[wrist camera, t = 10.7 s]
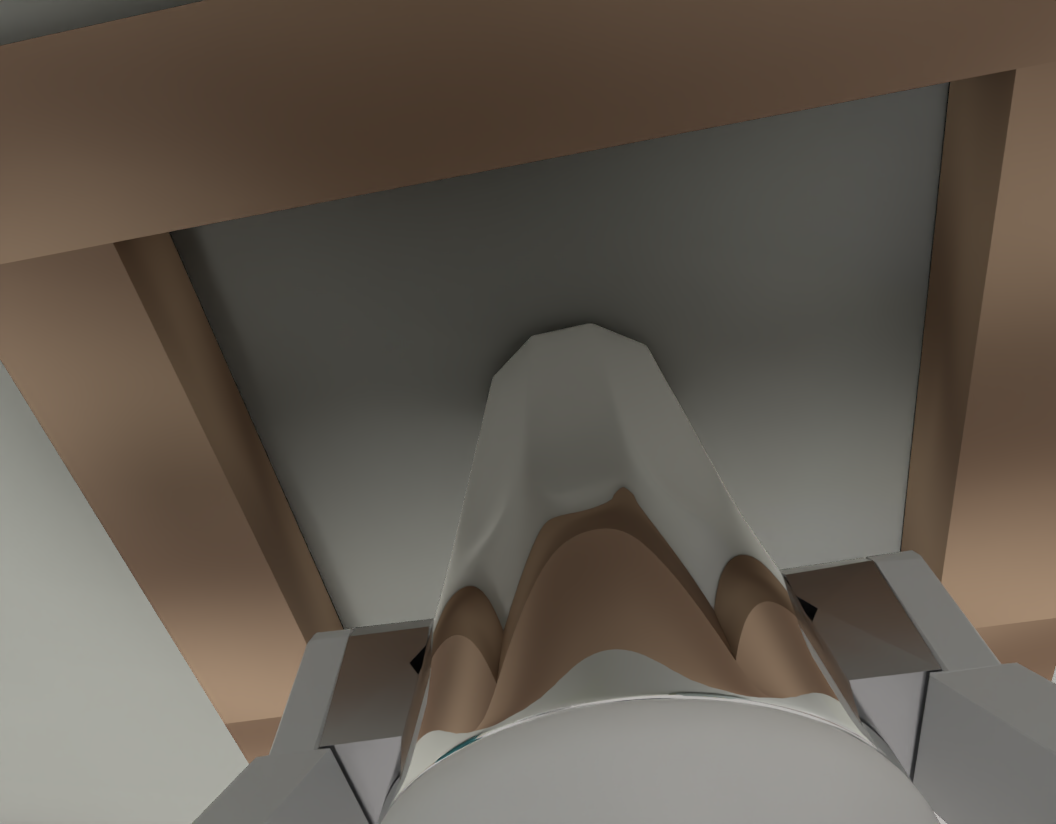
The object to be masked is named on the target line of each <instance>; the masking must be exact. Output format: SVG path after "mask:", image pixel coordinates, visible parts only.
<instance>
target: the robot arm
mask: <svg viewBox="0 0 1056 824" xmlns="http://www.w3.org/2000/svg"><path fill="white" fill-rule="evenodd" d="M780 572H781V573H782V575H783V576H784V578H785V579H786V581H787V583H788V584H789V586H790V587H791V589H792V590H793V592H794V593H795V595H796V597H797V598H798V600H799V601H800V603H801V605H802V606H803V608H804V609H805V611H806V612H807V614H808V616H809V617H810V619H811V620H812V622H813V624H814V625H815V627H816V628H817V630H818V632H819V633H820V635H821V636H822V638H823V639H824V641H825V643H826V644H827V646H828V647H829V649H830V651H831V652H832V654H833V655H834V657H835V659H836V660H837V662H838V663H839V665H840V667H841V668H842V670H843V671H844V673H845V675H846V676H847V678H848V679H849V681H850V683H851V684H852V686H853V687H854V689H855V691H856V692H857V694H858V695H859V697H860V699H861V700H862V702H863V703H864V705H865V707H866V708H867V710H868V711H869V713H870V715H871V716H872V718H873V719H874V721H875V723H876V724H877V726H878V727H879V729H880V731H881V732H882V734H883V735H884V737H885V739H886V740H887V742H888V743H889V745H890V747H891V748H892V750H893V752H894V753H895V755H896V756H897V758H898V760H899V761H900V763H901V764H902V766H903V768H904V769H905V771H906V773H907V774H908V776H909V778H910V780H911V781H912V783H913V785H914V786H915V787H916V788H917V789H918V791H919V792H920V793H921V794H922V796H923V797H924V798H925V800H926V801H927V803H928V804H929V805H930V807H931V809H932V810H933V811H934V812H935V813H936V814H937V815H938V816H939V817H941V818H942V819H943V820H944V821H945V822H946V823H947V824H1056V684H1055V683H1053V682H1051V681H1049V680H1047V679H1046V678H1044V677H1042V676H1040V675H1038V674H1037V673H1035V672H1033V671H1031V670H1029V669H1027V668H1026V667H1024V666H1022V665H1020V664H1018V663H1007V664H1001V663H1000V662H999V660H998V659H997V657H996V656H995V655H994V653H993V652H992V651H991V649H990V648H989V647H988V645H987V644H986V643H985V641H984V640H983V639H982V637H981V636H980V635H979V633H978V632H977V630H976V629H975V628H974V626H973V625H972V624H971V622H970V621H969V620H968V618H967V617H966V616H965V614H964V613H963V612H962V610H961V609H960V608H959V606H958V605H957V603H956V602H955V601H954V599H953V598H952V597H951V595H950V594H949V593H948V591H947V590H946V589H945V587H944V586H943V585H942V583H941V582H940V581H939V579H938V578H937V577H936V575H935V574H934V572H933V571H932V570H931V568H930V567H929V566H928V564H927V563H926V562H925V560H924V559H923V558H922V556H921V555H919V554H918V553H916V552H914V551H913V550H909V551H903V552H896V553H889V554H882V555H876V556H869V557H866V558H856V559H849V560H843V561H836V562H829V563H822V564H816V565H809V566H802V567H796V568H789V569H782V570H780ZM433 621H434V619H426V620H417V621H408V622H399V623H391V624H382V625H373V626H364V627H356V628H354V629H345V630H336V631H327V632H318V633H316V634H315V635H314V636H313V637H312V638H311V639H310V641H309V642H308V643H307V645H306V648H305V651H304V654H303V657H302V660H301V663H300V666H299V669H298V671H297V674H296V677H295V680H294V683H293V686H292V689H291V692H290V695H289V698H288V701H287V704H286V706H285V709H284V712H283V715H282V718H281V721H280V724H279V727H278V730H277V733H276V736H275V739H274V741H273V744H272V747H271V750H270V753H269V755H267V756H260V757H256V758H255V759H254V760H253V761H252V762H251V763H250V764H249V765H248V766H247V767H246V768H245V769H244V770H243V771H242V772H241V773H240V774H239V775H238V776H237V777H236V778H235V780H234V781H233V782H232V783H231V784H230V785H229V786H228V787H227V788H226V789H225V790H224V791H223V792H222V793H221V794H220V795H219V796H218V797H217V798H216V799H215V800H214V801H213V802H212V803H211V804H210V805H209V806H208V807H207V808H206V809H205V810H204V811H203V813H202V814H201V815H200V816H199V817H198V818H197V819H196V820H195V821H194V822H193V823H192V824H378V820H379V816H380V813H381V809H382V805H383V802H384V798H385V794H386V791H387V787H388V784H389V780H390V776H391V773H392V769H393V765H394V762H395V758H396V755H397V751H398V747H399V744H400V740H401V736H402V733H403V729H404V726H405V722H406V718H407V715H408V711H409V708H410V704H411V700H412V697H413V693H414V689H415V686H416V682H417V679H418V675H419V671H420V668H421V664H422V661H423V657H424V653H425V650H426V646H427V643H428V639H429V635H430V632H431V628H432V625H433Z"/></svg>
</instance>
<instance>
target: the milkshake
mask: <svg viewBox="0 0 1056 824" xmlns="http://www.w3.org/2000/svg"><path fill="white" fill-rule="evenodd" d="M378 824H940V823H939V821H938V819H937V817H936V815H935V814H934V812H933V810H932V809H931V807H930V805H929V804H928V803H927V801H926V800H925V798H924V797H923V796H922V794H921V793H920V792H919V791H918V789H917V788H916V787H915V786H914V785H913V783H912V781H911V780H910V778H909V776H908V774H907V773H906V771H905V769H904V768H903V766H902V764H901V763H900V761H899V760H898V758H897V756H896V755H895V753H894V752H893V750H892V748H891V747H890V745H889V743H888V742H887V740H886V739H885V737H884V735H883V734H882V732H881V731H880V729H879V727H878V726H877V724H876V723H875V721H874V719H873V718H872V716H871V715H870V713H869V711H868V710H867V708H866V707H865V705H864V703H863V702H862V700H861V699H860V697H859V695H858V694H857V692H856V691H855V689H854V687H853V686H852V684H851V683H850V681H849V679H848V678H847V676H846V675H845V673H844V671H843V670H842V668H841V667H840V665H839V663H838V662H837V660H836V659H835V657H834V655H833V654H832V652H831V651H830V649H829V647H828V646H827V644H826V643H825V641H824V639H823V638H822V636H821V635H820V633H819V632H818V630H817V628H816V627H815V625H814V624H813V622H812V620H811V619H810V617H809V616H808V614H807V612H806V611H805V609H804V608H803V606H802V605H801V603H800V601H799V600H798V598H797V597H796V595H795V593H794V592H793V590H792V589H791V587H790V586H789V584H788V583H787V581H786V579H785V578H784V576H783V575H782V573H781V572H780V570H779V569H778V567H777V566H776V564H775V563H774V562H773V560H772V559H771V557H770V556H769V554H768V553H767V551H766V550H765V549H764V547H763V546H762V544H761V543H760V541H759V540H758V538H757V537H756V535H755V534H754V532H753V531H752V529H751V528H750V526H749V525H748V523H747V522H746V520H745V519H744V517H743V516H742V514H741V512H740V511H739V509H738V508H737V506H736V504H735V503H734V501H733V499H732V497H731V496H730V494H729V492H728V491H727V489H726V487H725V485H724V484H723V482H722V480H721V478H720V476H719V475H718V473H717V471H716V469H715V467H714V465H713V464H712V462H711V460H710V458H709V456H708V455H707V453H706V451H705V449H704V447H703V446H702V444H701V442H700V440H699V438H698V437H697V435H696V433H695V431H694V429H693V428H692V426H691V424H690V422H689V420H688V418H687V417H686V415H685V413H684V411H683V409H682V408H681V406H680V404H679V402H678V400H677V399H676V397H675V395H674V393H673V392H672V390H671V388H670V386H669V385H668V383H667V381H666V379H665V378H664V376H663V374H662V372H661V370H660V369H659V367H658V365H657V363H656V361H655V360H654V358H653V356H652V354H651V352H650V351H649V349H648V347H647V346H646V345H645V344H643V343H640V342H638V341H635V340H633V339H630V338H627V337H625V336H622V335H620V334H617V333H615V332H613V331H610V330H608V329H605V328H603V327H600V326H598V325H595V324H593V323H588V324H584V325H579V326H575V327H570V328H565V329H561V330H556V331H551V332H546V333H542V334H537V335H532V336H531V337H530V338H529V339H528V340H527V341H526V342H525V344H524V345H523V346H522V347H521V348H520V349H519V350H518V351H517V352H516V353H515V354H514V355H513V356H512V357H511V358H510V359H509V360H508V361H507V363H506V364H505V365H504V366H503V367H502V368H501V369H500V370H499V371H498V372H497V373H496V374H495V375H494V376H493V378H492V382H491V386H490V390H489V394H488V399H487V403H486V407H485V412H484V416H483V420H482V424H481V429H480V433H479V437H478V442H477V446H476V450H475V455H474V459H473V463H472V468H471V472H470V476H469V480H468V485H467V489H466V493H465V498H464V502H463V506H462V511H461V515H460V519H459V524H458V528H457V532H456V536H455V541H454V545H453V549H452V553H451V557H450V562H449V566H448V570H447V573H446V577H445V581H444V585H443V589H442V592H441V596H440V600H439V603H438V607H437V610H436V614H435V617H434V621H433V625H432V628H431V632H430V635H429V639H428V643H427V646H426V650H425V653H424V657H423V661H422V664H421V668H420V671H419V675H418V679H417V682H416V686H415V689H414V693H413V697H412V700H411V704H410V708H409V711H408V715H407V718H406V722H405V726H404V729H403V733H402V736H401V740H400V744H399V747H398V751H397V755H396V758H395V762H394V765H393V769H392V773H391V776H390V780H389V784H388V787H387V791H386V794H385V798H384V802H383V805H382V809H381V813H380V816H379V820H378Z"/></svg>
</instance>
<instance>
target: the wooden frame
mask: <svg viewBox="0 0 1056 824" xmlns="http://www.w3.org/2000/svg"><path fill="white" fill-rule="evenodd" d="M946 82H950V89H949V98H948V108H947V117H946V127H945V136H944V146H943V155H942V165H941V174H940V184H939V193H938V203H937V212H936V222H935V231H934V241H933V251H932V260H931V270H930V279H929V289H928V298H927V308H926V317H925V327H924V336H923V346H922V355H921V365H920V374H919V384H918V393H917V403H916V412H915V422H914V431H913V441H912V450H911V460H910V469H909V479H908V488H907V498H906V507H905V517H904V526H903V536H902V545H901V552H903V551H909V550H913V551H914V552H916V553H918V554H919V555H921V556H922V558H923V559H924V560H925V562H926V563H927V564H928V566H929V567H930V568H931V570H932V571H933V572H934V574H935V575H936V577H937V578H938V579H939V581H940V582H941V583H942V585H943V586H944V587H945V589H946V590H947V591H948V593H949V594H950V595H951V597H952V598H953V599H954V601H955V602H956V603H957V605H958V606H959V608H960V609H961V610H962V612H963V613H964V614H965V616H966V617H967V618H968V620H969V621H970V622H971V624H972V625H973V626H974V628H975V629H976V630H977V632H978V633H979V635H980V636H981V637H982V639H983V640H984V641H985V643H986V644H987V645H988V647H989V648H990V649H991V651H992V652H993V653H994V655H995V656H996V657H997V659H998V660H999V662H1000V663H1001V664H1007V663H1018V664H1020V665H1022V666H1024V667H1026V668H1027V669H1029V670H1031V671H1033V672H1035V673H1037V674H1038V675H1040V676H1042V677H1044V678H1046V679H1047V680H1049V681H1052V677H1053V674H1054V670H1055V666H1056V0H204V1H200V2H195V3H191V4H186V5H182V6H177V7H172V8H168V9H163V10H159V11H154V12H150V13H145V14H141V15H136V16H132V17H127V18H123V19H118V20H114V21H109V22H105V23H100V24H96V25H91V26H87V27H82V28H78V29H73V30H69V31H64V32H59V33H55V34H50V35H46V36H41V37H37V38H32V39H28V40H23V41H19V42H14V43H10V44H5V45H1V46H0V360H1V361H2V363H3V365H4V366H5V368H6V370H7V371H8V373H9V374H10V376H11V378H12V379H13V381H14V383H15V384H16V386H17V387H18V389H19V391H20V392H21V394H22V396H23V397H24V399H25V400H26V402H27V404H28V405H29V407H30V409H31V410H32V412H33V413H34V415H35V417H36V418H37V420H38V422H39V423H40V425H41V426H42V428H43V430H44V431H45V433H46V435H47V436H48V438H49V439H50V441H51V443H52V444H53V446H54V447H55V449H56V451H57V452H58V454H59V456H60V457H61V459H62V460H63V462H64V464H65V465H66V467H67V469H68V470H69V472H70V473H71V475H72V477H73V478H74V480H75V482H76V483H77V485H78V486H79V488H80V490H81V491H82V493H83V495H84V496H85V498H86V499H87V501H88V503H89V504H90V506H91V508H92V509H93V511H94V512H95V514H96V516H97V517H98V519H99V521H100V522H101V524H102V525H103V527H104V529H105V530H106V532H107V534H108V535H109V537H110V538H111V540H112V542H113V543H114V545H115V547H116V548H117V550H118V551H119V553H120V555H121V556H122V558H123V560H124V561H125V563H126V564H127V566H128V568H129V569H130V571H131V573H132V574H133V576H134V577H135V579H136V581H137V582H138V584H139V586H140V587H141V589H142V590H143V592H144V594H145V595H146V597H147V599H148V600H149V602H150V603H151V605H152V607H153V608H154V610H155V612H156V613H157V615H158V616H159V618H160V620H161V621H162V623H163V625H164V626H165V628H166V629H167V631H168V633H169V634H170V636H171V638H172V639H173V641H174V642H175V644H176V646H177V647H178V649H179V651H180V652H181V654H182V655H183V657H184V659H185V660H186V662H187V664H188V665H189V667H190V668H191V670H192V672H193V673H194V675H195V677H196V678H197V680H198V681H199V683H200V685H201V686H202V688H203V690H204V691H205V693H206V694H207V696H208V698H209V699H210V701H211V703H212V704H213V706H214V707H215V709H216V711H217V712H218V714H219V716H220V717H221V719H222V720H223V722H224V724H225V725H226V727H227V729H228V730H229V732H230V733H231V735H232V737H233V738H234V740H235V742H236V743H237V745H238V746H239V748H240V750H241V751H242V753H243V755H244V756H245V758H246V759H247V761H248V763H249V764H250V763H251V762H252V761H253V760H254V759H255V758H256V757H260V756H267V755H269V753H270V750H271V747H272V744H273V741H274V739H275V736H276V733H277V730H278V727H279V724H280V721H281V718H282V715H283V712H284V709H285V706H286V704H287V701H288V698H289V695H290V692H291V689H292V686H293V683H294V680H295V677H296V674H297V671H298V669H299V666H300V663H301V660H302V657H303V654H304V651H305V648H306V645H307V643H308V642H309V641H310V639H311V638H312V637H313V636H314V635H315V634H316V633H318V632H327V631H336V630H344V629H343V627H342V625H341V623H340V620H339V618H338V616H337V614H336V611H335V609H334V607H333V604H332V602H331V600H330V598H329V595H328V593H327V591H326V589H325V586H324V584H323V582H322V579H321V577H320V575H319V573H318V570H317V568H316V566H315V564H314V561H313V559H312V557H311V554H310V552H309V550H308V548H307V545H306V543H305V541H304V539H303V536H302V534H301V532H300V529H299V527H298V525H297V523H296V520H295V518H294V516H293V514H292V511H291V509H290V507H289V504H288V502H287V500H286V498H285V495H284V493H283V491H282V488H281V486H280V484H279V482H278V479H277V477H276V475H275V473H274V470H273V468H272V466H271V463H270V461H269V459H268V457H267V454H266V452H265V450H264V448H263V445H262V443H261V441H260V438H259V436H258V434H257V432H256V429H255V427H254V425H253V423H252V420H251V418H250V416H249V413H248V411H247V409H246V407H245V404H244V402H243V400H242V398H241V395H240V393H239V391H238V388H237V386H236V384H235V382H234V379H233V377H232V375H231V373H230V370H229V368H228V366H227V363H226V361H225V359H224V357H223V354H222V352H221V350H220V348H219V345H218V343H217V341H216V338H215V336H214V334H213V332H212V329H211V327H210V325H209V323H208V320H207V318H206V316H205V313H204V311H203V309H202V307H201V304H200V302H199V300H198V298H197V295H196V293H195V291H194V288H193V286H192V284H191V282H190V279H189V277H188V275H187V273H186V270H185V268H184V266H183V263H182V261H181V259H180V257H179V254H178V252H177V250H176V248H175V245H174V243H173V241H172V238H171V236H170V234H169V232H171V231H176V230H182V229H187V228H192V227H197V226H202V225H208V224H213V223H218V222H223V221H228V220H234V219H239V218H244V217H249V216H254V215H260V214H265V213H270V212H275V211H280V210H286V209H291V208H296V207H301V206H306V205H312V204H317V203H322V202H327V201H332V200H338V199H343V198H348V197H353V196H358V195H364V194H369V193H374V192H379V191H384V190H390V189H395V188H400V187H405V186H410V185H416V184H421V183H426V182H431V181H436V180H442V179H447V178H452V177H457V176H462V175H468V174H473V173H478V172H483V171H488V170H494V169H499V168H504V167H509V166H514V165H520V164H525V163H530V162H535V161H540V160H546V159H551V158H556V157H561V156H566V155H572V154H577V153H582V152H587V151H592V150H598V149H603V148H608V147H613V146H618V145H624V144H629V143H634V142H639V141H644V140H650V139H655V138H660V137H665V136H670V135H676V134H681V133H686V132H691V131H697V130H702V129H707V128H712V127H717V126H723V125H728V124H733V123H738V122H743V121H749V120H754V119H759V118H764V117H769V116H775V115H780V114H785V113H790V112H795V111H801V110H806V109H811V108H816V107H821V106H827V105H832V104H837V103H842V102H847V101H853V100H858V99H863V98H868V97H873V96H879V95H884V94H889V93H894V92H899V91H905V90H910V89H915V88H920V87H925V86H931V85H936V84H941V83H946Z"/></svg>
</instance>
